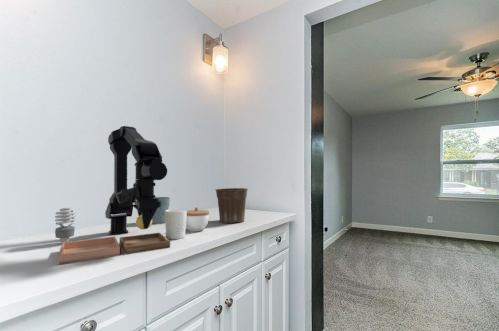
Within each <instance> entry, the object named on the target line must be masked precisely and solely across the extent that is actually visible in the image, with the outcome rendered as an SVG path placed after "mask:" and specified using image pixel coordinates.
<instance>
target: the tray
mask: <svg viewBox="0 0 499 331" xmlns="http://www.w3.org/2000/svg"><path fill="white" fill-rule="evenodd" d="M119 246H120V248H121V250H122V251H123V253H124V255H128V254H135V253H136V254H137V253H142V252H143V253H144V252H148V251H155V250H161V249H168V248H169V249H170V247H171V241H170V239H167V238H166V236H164V235H163V234H161V232H153V233H146V234H138V235H129V236H128V235H127V236H121V237H119Z"/></svg>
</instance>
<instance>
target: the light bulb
mask: <svg viewBox="0 0 499 331" xmlns="http://www.w3.org/2000/svg"><path fill="white" fill-rule="evenodd" d="M75 220H76V210H73V209H72V208H71V207H62V208H60V209H59V211H56V212H55V216H54V221H55V226H57V225H58V226H59V227H56V228H55V231H54V232H55V233H54V234H55V238H56V239H59V240H60V241H59V242H60V243H61V244H62V243H64V242H70V238H71V237H73V236H75V226H73V224H75ZM64 224H68V225H64Z"/></svg>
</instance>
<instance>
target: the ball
mask: <svg viewBox="0 0 499 331" xmlns="http://www.w3.org/2000/svg"><path fill="white" fill-rule="evenodd" d="M135 225H136V227H137V228H138V229H140V230H144V231H145V229H144V226H143V220H142V215H140V216H139V215H138V217H137V218H136V219H135ZM152 225H153V224H152V220H151V222H150V224H149V227H148V228H147V229H146V230H148V229H149V228H151V227H152Z"/></svg>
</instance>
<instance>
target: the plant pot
mask: <svg viewBox="0 0 499 331" xmlns="http://www.w3.org/2000/svg"><path fill="white" fill-rule="evenodd" d="M248 189H249V188H246V187H245V188H243V187H238V188H237V187H234V188H233V187H232V188H231V187H230V188H229V187H228V188H215V189H214V190H215V193H216V198H217V203H218V204H217V205H218V213H219V214H218V216H219V222H220V223H223V224H235V223H238V224H240V223H243V222H245V216H246V215H245V213H246V200H247V196H248V195H247V194H248Z"/></svg>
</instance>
